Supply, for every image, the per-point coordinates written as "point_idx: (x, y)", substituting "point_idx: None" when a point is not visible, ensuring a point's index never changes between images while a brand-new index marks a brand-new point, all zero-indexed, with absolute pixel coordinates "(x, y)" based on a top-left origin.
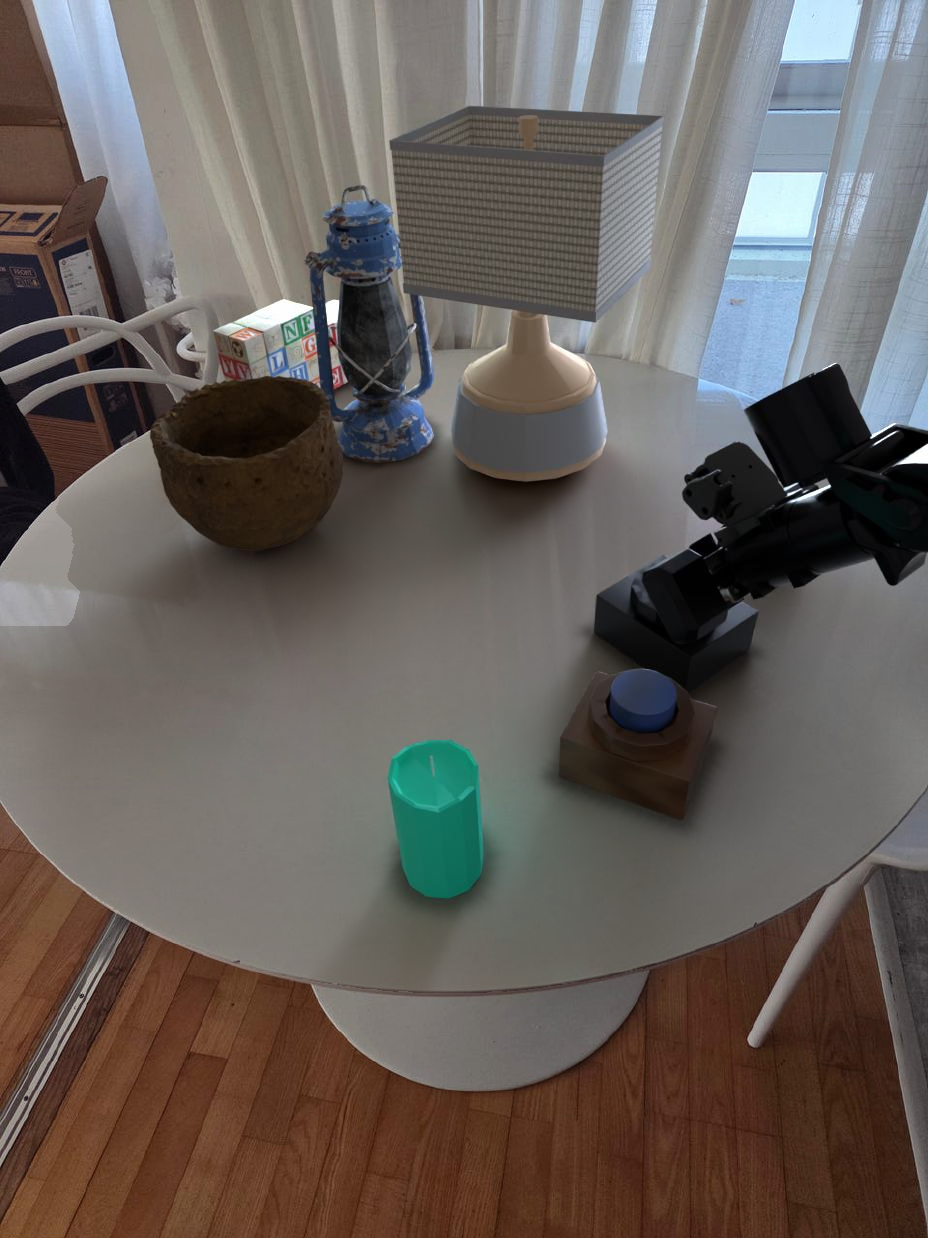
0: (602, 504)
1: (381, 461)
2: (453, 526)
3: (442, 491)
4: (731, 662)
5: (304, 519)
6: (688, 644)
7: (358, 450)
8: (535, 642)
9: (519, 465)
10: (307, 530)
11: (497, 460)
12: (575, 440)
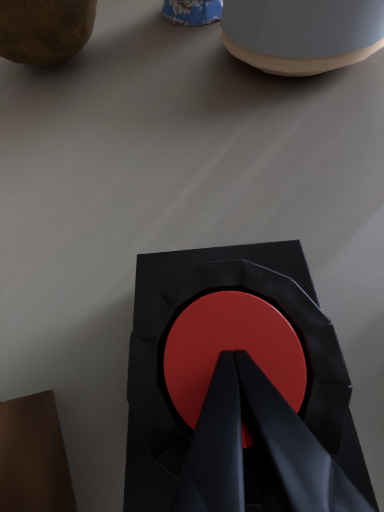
0: (317, 123)
1: (176, 23)
2: (166, 95)
3: (191, 61)
4: None
5: (11, 31)
6: (152, 488)
7: (166, 7)
8: (99, 253)
9: (253, 39)
10: (42, 53)
11: (235, 27)
12: (335, 14)
